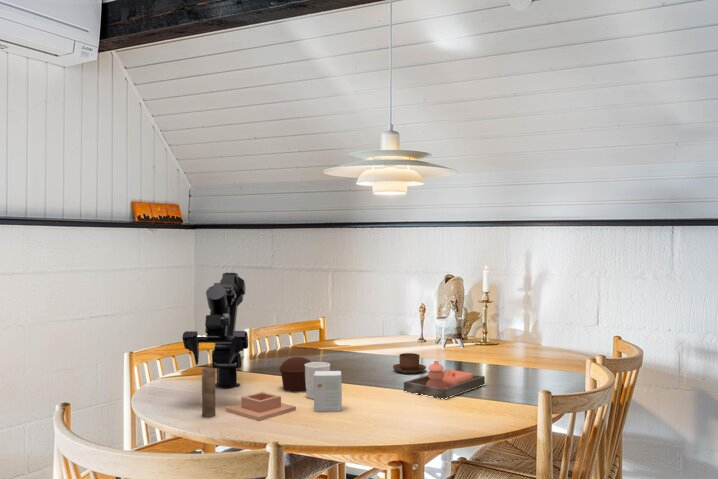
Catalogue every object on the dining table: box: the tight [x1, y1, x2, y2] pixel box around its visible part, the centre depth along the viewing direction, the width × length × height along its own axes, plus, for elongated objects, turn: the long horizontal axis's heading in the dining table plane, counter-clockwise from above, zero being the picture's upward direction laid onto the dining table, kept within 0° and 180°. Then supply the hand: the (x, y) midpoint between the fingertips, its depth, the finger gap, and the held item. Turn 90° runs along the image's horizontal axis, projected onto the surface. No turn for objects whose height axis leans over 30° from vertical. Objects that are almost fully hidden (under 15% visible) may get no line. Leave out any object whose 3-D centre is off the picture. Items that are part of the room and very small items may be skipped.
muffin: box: [278, 356, 312, 393], centre depth 216 cm, size 12×11×10 cm
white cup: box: [305, 361, 331, 400], centre depth 206 cm, size 8×8×10 cm
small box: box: [313, 370, 343, 412], centre depth 192 cm, size 8×6×10 cm
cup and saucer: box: [392, 352, 427, 374], centre depth 242 cm, size 12×12×6 cm
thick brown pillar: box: [201, 367, 216, 419], centre depth 184 cm, size 4×4×13 cm
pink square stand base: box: [225, 391, 297, 421], centre depth 190 cm, size 14×14×4 cm
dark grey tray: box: [403, 369, 486, 400], centre depth 217 cm, size 15×24×3 cm, turn 139°
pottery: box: [426, 360, 474, 389], centre depth 217 cm, size 18×10×10 cm, turn 139°
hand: (212, 364), depth 191 cm, fingers open, 9 cm apart
